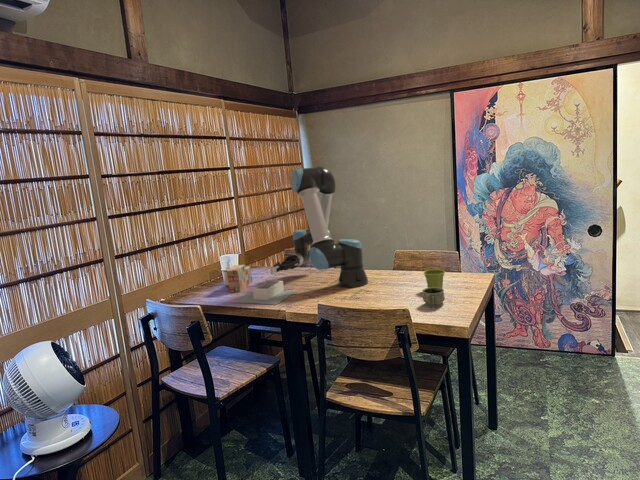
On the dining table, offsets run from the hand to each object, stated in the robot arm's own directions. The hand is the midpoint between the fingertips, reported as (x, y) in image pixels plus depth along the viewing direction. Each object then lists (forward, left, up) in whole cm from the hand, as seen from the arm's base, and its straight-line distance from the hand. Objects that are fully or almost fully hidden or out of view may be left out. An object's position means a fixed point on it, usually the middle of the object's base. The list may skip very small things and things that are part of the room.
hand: (271, 271), depth 219 cm
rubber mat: (0, +8, -11) cm, 14 cm away
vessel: (-82, +9, -11) cm, 83 cm away
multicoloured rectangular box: (+26, -8, -11) cm, 30 cm away
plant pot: (-79, -11, -11) cm, 81 cm away
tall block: (0, -3, -8) cm, 9 cm away
